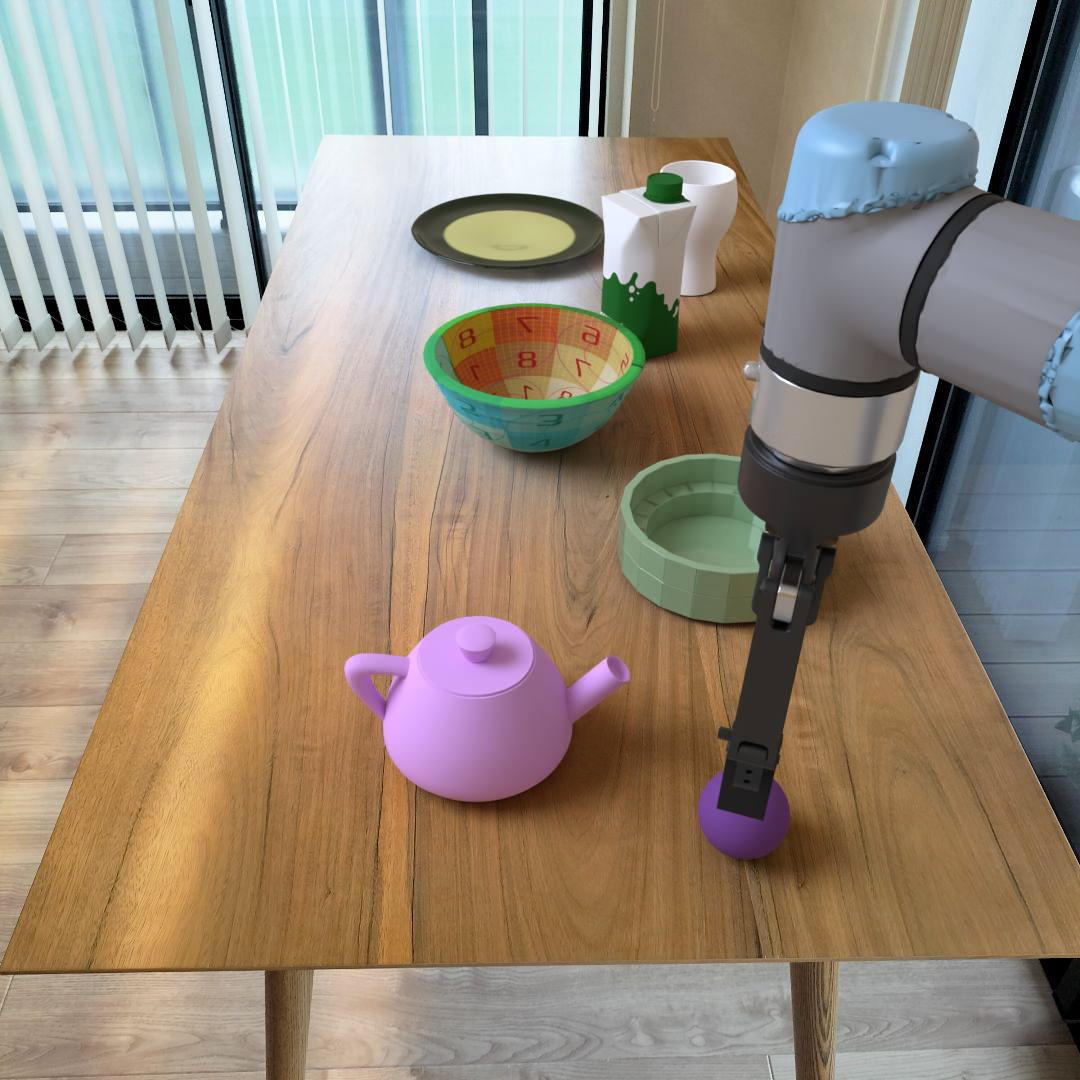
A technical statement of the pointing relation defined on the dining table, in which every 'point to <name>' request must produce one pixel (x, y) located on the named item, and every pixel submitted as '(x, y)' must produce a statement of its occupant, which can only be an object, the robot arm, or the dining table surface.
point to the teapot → (478, 708)
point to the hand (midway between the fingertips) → (759, 726)
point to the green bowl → (691, 538)
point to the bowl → (534, 372)
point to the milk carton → (646, 259)
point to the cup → (705, 219)
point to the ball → (743, 824)
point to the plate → (509, 231)
